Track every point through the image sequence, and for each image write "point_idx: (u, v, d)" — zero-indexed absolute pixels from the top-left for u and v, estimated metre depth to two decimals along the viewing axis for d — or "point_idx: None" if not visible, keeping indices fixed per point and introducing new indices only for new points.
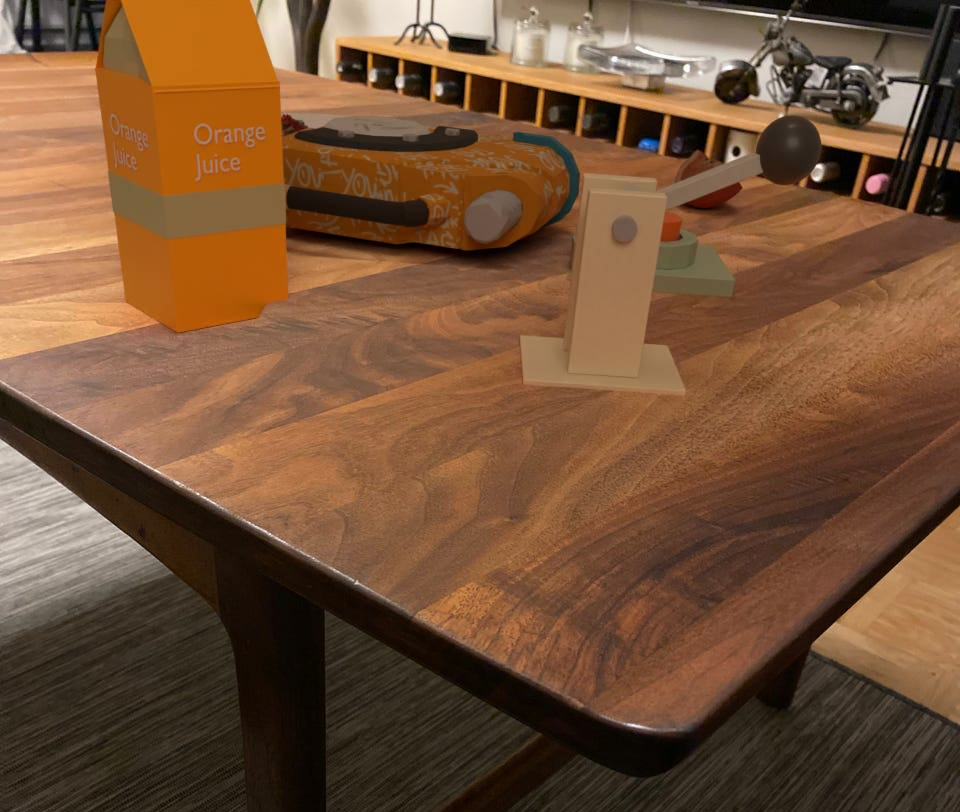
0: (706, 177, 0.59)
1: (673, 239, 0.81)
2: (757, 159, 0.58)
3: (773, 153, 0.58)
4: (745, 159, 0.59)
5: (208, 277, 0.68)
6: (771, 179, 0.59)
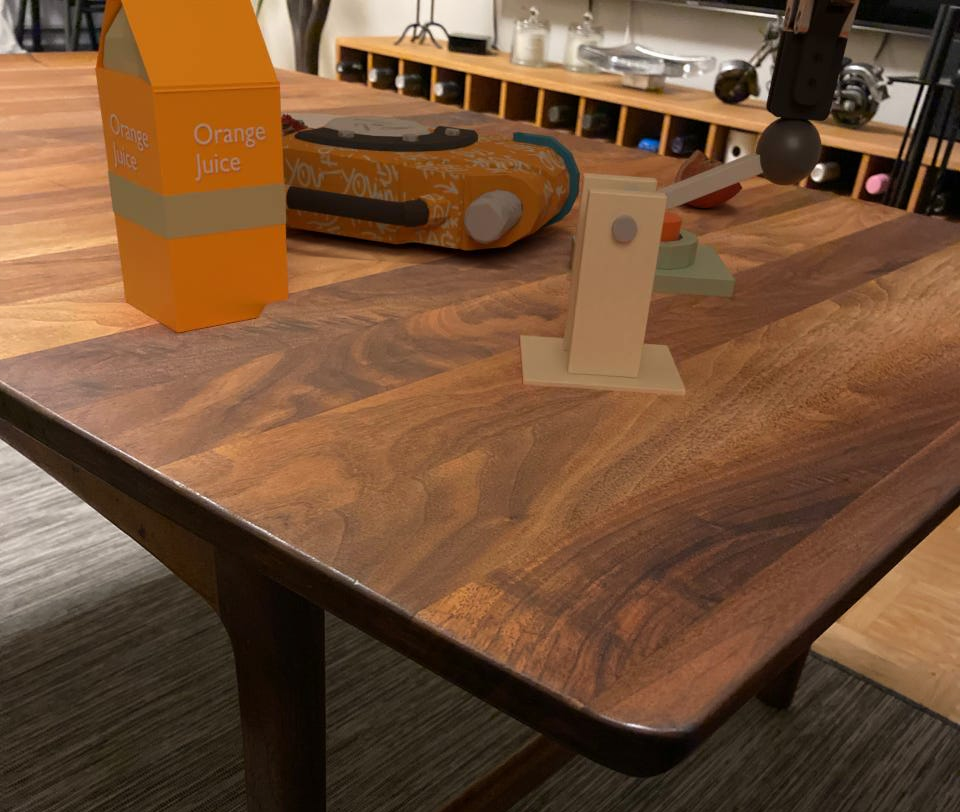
0: (706, 177, 0.59)
1: (673, 239, 0.81)
2: (757, 159, 0.58)
3: (773, 153, 0.58)
4: (745, 159, 0.59)
5: (208, 277, 0.68)
6: (771, 179, 0.59)
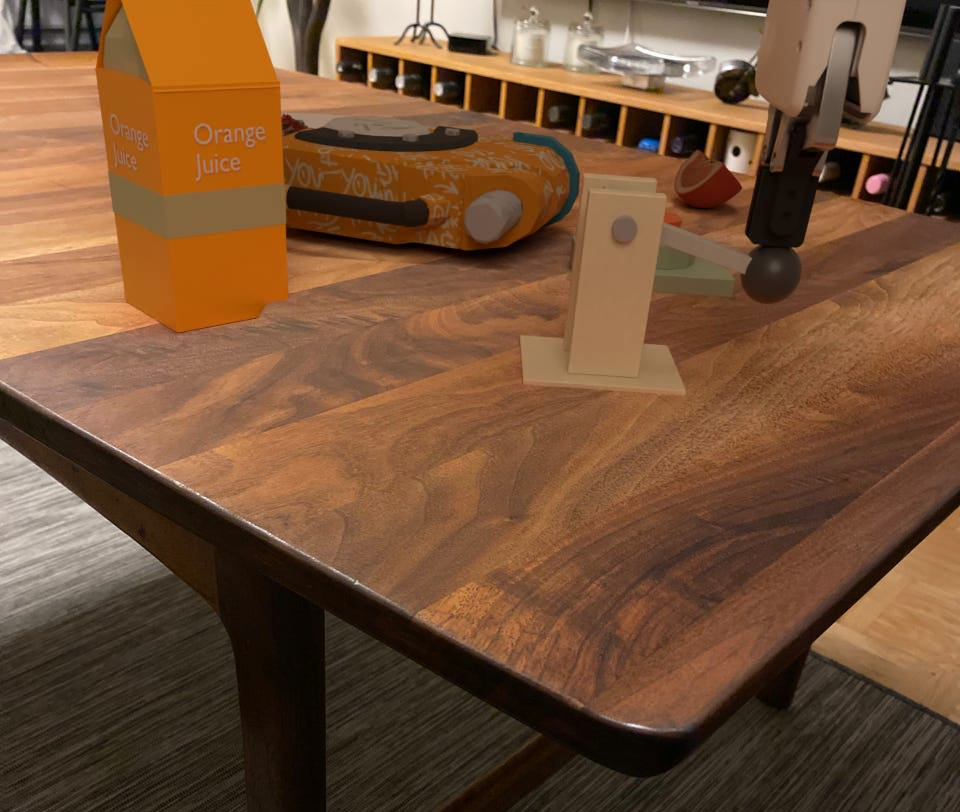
0: (704, 242, 0.61)
1: None
2: (748, 260, 0.62)
3: (764, 265, 0.61)
4: (739, 253, 0.62)
5: (208, 277, 0.68)
6: (746, 284, 0.62)
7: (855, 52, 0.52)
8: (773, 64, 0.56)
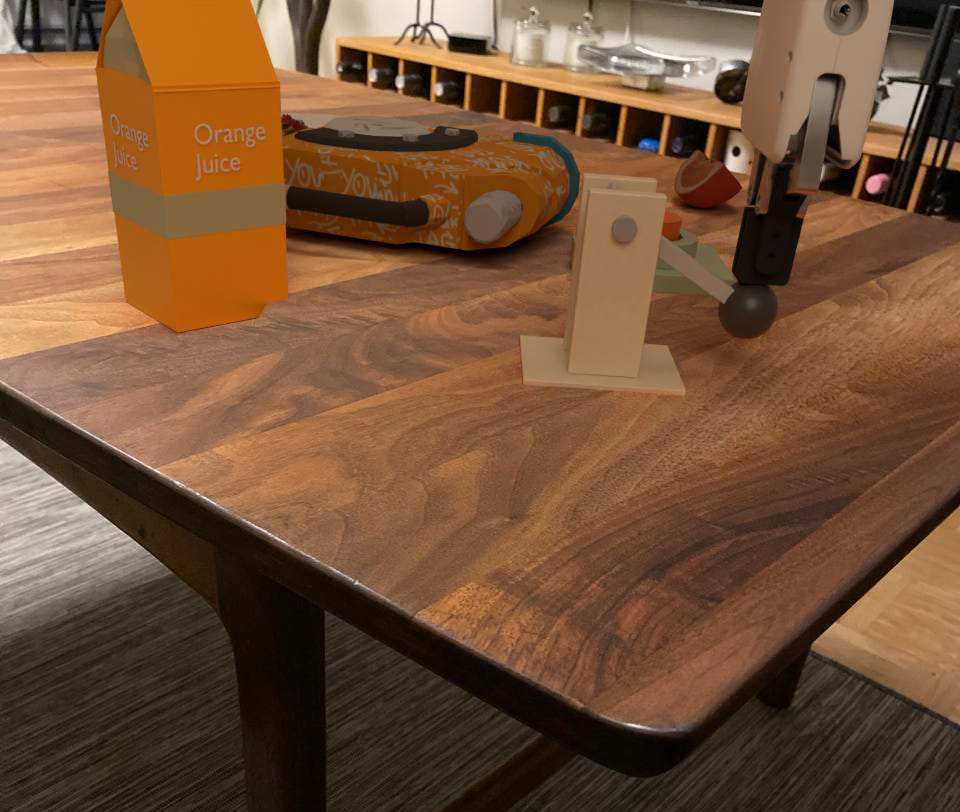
0: (694, 263, 0.62)
1: (673, 239, 0.81)
2: (730, 291, 0.63)
3: (744, 299, 0.62)
4: (724, 282, 0.63)
5: (208, 277, 0.68)
6: (723, 314, 0.63)
7: (835, 102, 0.53)
8: (757, 110, 0.57)
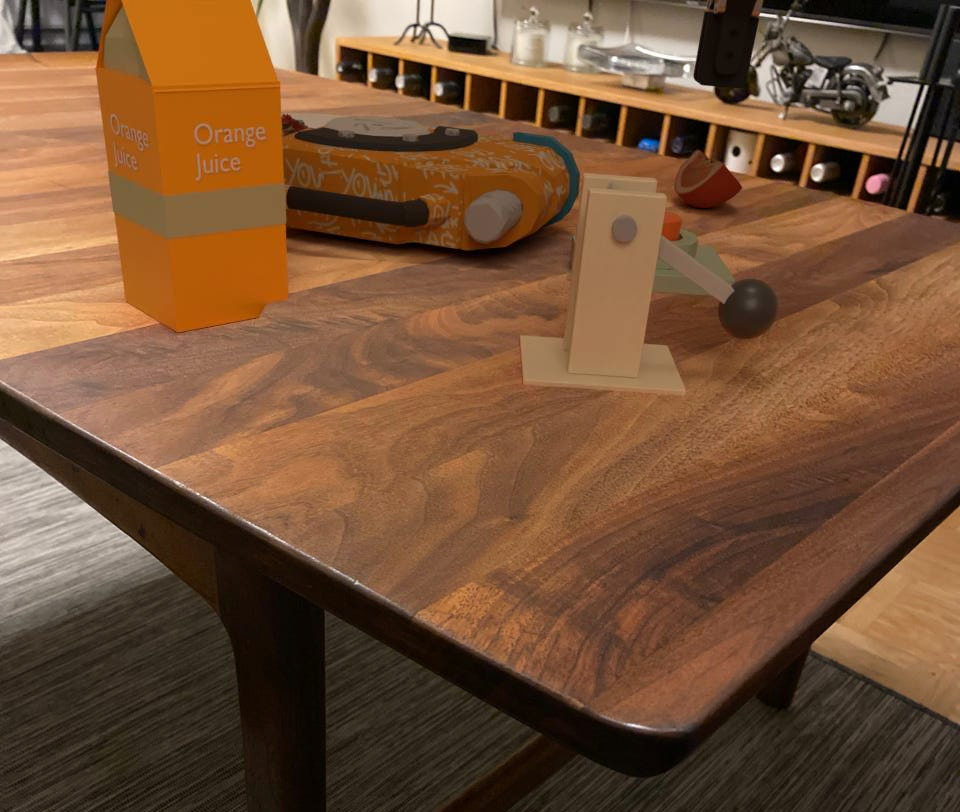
0: (694, 263, 0.62)
1: (673, 239, 0.81)
2: (730, 291, 0.63)
3: (744, 300, 0.62)
4: (724, 282, 0.63)
5: (208, 277, 0.68)
6: (723, 314, 0.63)
7: None
8: None
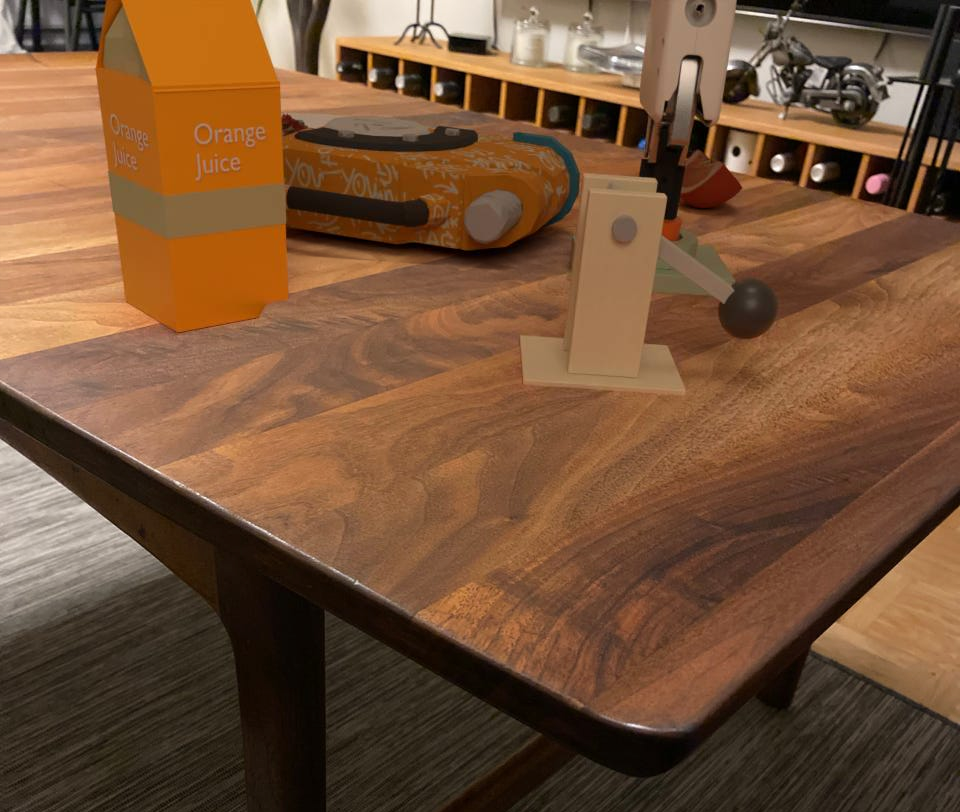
0: (694, 263, 0.62)
1: (673, 240, 0.81)
2: (730, 291, 0.63)
3: (744, 300, 0.62)
4: (724, 282, 0.63)
5: (208, 277, 0.68)
6: (723, 314, 0.63)
7: (698, 76, 0.72)
8: (645, 83, 0.76)
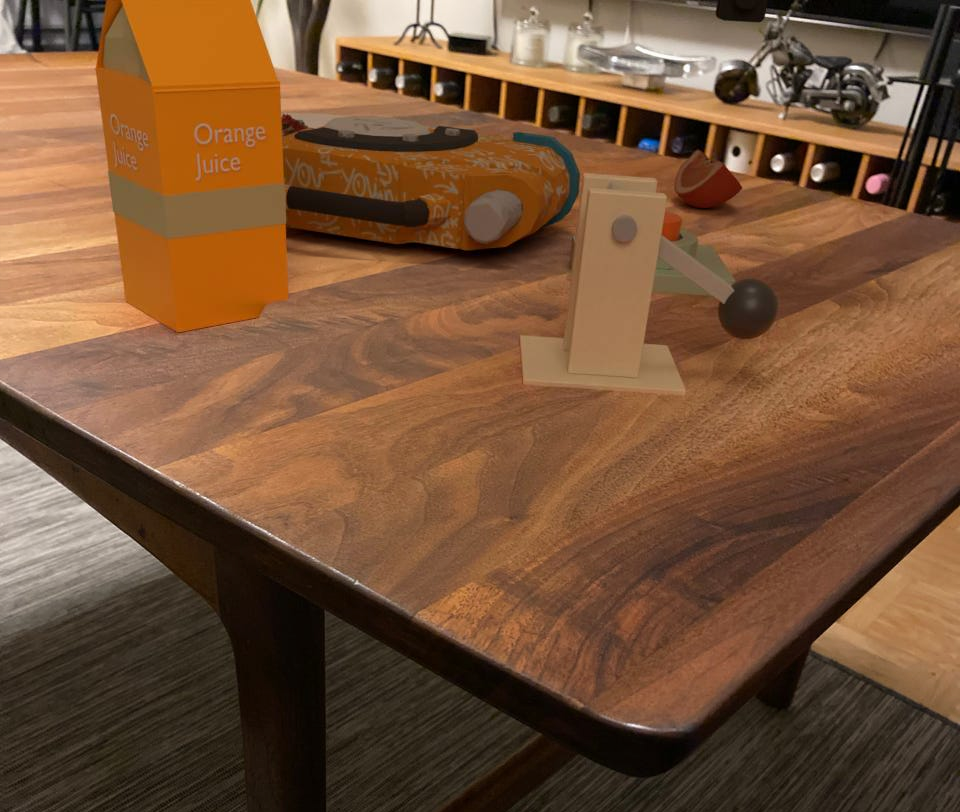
0: (694, 263, 0.62)
1: (673, 239, 0.81)
2: (730, 291, 0.63)
3: (744, 300, 0.62)
4: (724, 282, 0.63)
5: (208, 277, 0.68)
6: (723, 314, 0.63)
7: None
8: None
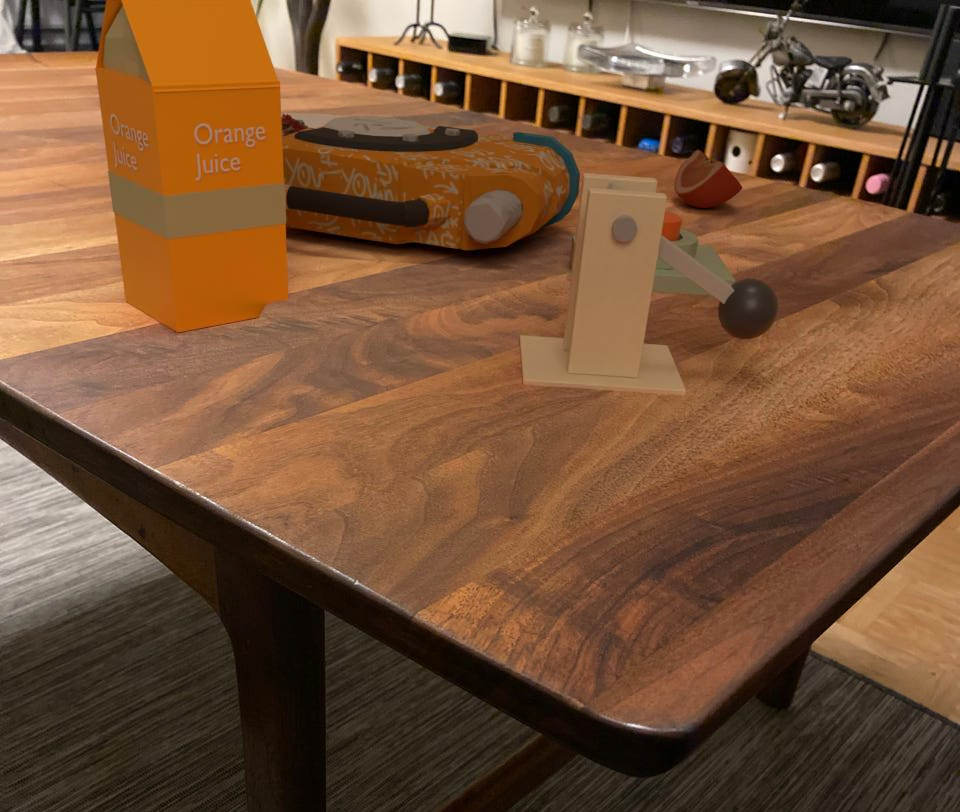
0: (694, 263, 0.62)
1: (673, 239, 0.81)
2: (730, 291, 0.63)
3: (744, 300, 0.62)
4: (724, 282, 0.63)
5: (208, 277, 0.68)
6: (723, 314, 0.63)
7: None
8: None
